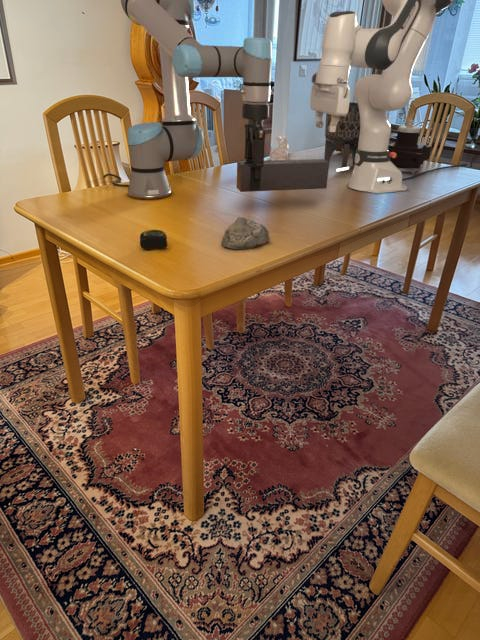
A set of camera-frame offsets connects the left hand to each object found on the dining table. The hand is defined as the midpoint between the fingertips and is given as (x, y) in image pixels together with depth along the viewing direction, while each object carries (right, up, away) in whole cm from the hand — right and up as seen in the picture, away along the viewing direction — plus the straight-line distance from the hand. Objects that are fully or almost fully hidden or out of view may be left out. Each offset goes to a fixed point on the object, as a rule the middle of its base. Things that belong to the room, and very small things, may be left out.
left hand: (252, 187), depth 137 cm
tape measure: (-26, -22, -20) cm, 39 cm away
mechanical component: (+73, +30, +72) cm, 107 cm away
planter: (+43, +31, +73) cm, 90 cm away
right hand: (+22, +17, 0) cm, 28 cm away
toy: (+53, +49, +104) cm, 126 cm away
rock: (-2, -20, -16) cm, 26 cm away
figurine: (+14, +32, +74) cm, 82 cm away
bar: (+9, 0, +2) cm, 9 cm away
